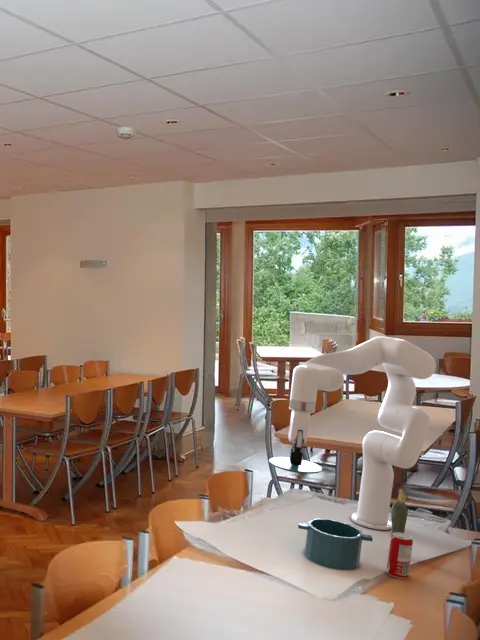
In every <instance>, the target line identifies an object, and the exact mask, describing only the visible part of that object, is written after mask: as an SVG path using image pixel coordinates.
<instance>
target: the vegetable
mask: <svg viewBox="0 0 480 640" xmlns="http://www.w3.org/2000/svg"><path fill="white" fill-rule="evenodd" d="M397 493H398V496H397V501H395V502H393V504H392V506H391V508H390V509H391V510H390V521H391V522H392V528H391V529H390V530H391V531H390V537H391V536H392V534H393V533H394V532H400V533H405V531H406V524H407V519H408V514H409V513H408V512H409V510H408V506H407V504H406V503H405V502H406V500H407V495H406V494H405V492H404V490H403V489H402V488H398V491H397Z"/></svg>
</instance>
